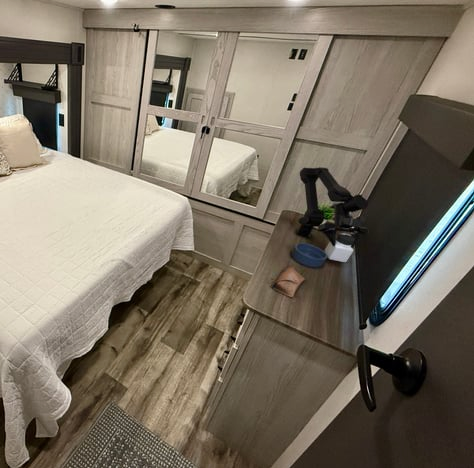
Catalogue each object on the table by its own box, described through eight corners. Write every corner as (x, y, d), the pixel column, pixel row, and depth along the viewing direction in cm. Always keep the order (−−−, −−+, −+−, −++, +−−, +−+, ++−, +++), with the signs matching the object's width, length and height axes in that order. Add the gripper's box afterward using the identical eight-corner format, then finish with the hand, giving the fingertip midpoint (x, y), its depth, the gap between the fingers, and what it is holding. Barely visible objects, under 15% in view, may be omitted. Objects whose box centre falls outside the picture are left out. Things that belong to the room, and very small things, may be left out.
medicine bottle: (346, 262, 130) (360, 241, 124) (328, 259, 132) (341, 238, 125) (340, 254, 136) (353, 233, 129) (323, 251, 137) (335, 230, 131)
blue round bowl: (292, 248, 143) (296, 240, 141) (322, 258, 137) (327, 249, 135) (289, 260, 134) (294, 252, 131) (322, 271, 128) (327, 262, 125)
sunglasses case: (294, 298, 110) (290, 282, 109) (274, 296, 116) (271, 281, 115) (306, 278, 122) (303, 264, 121) (287, 278, 127) (284, 264, 126)
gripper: (333, 207, 125) (334, 240, 122) (377, 212, 124) (380, 246, 120) (317, 214, 136) (317, 245, 133) (357, 219, 135) (359, 251, 131)
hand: (343, 247), depth 129 cm, fingers closed on medicine bottle, 7 cm apart
